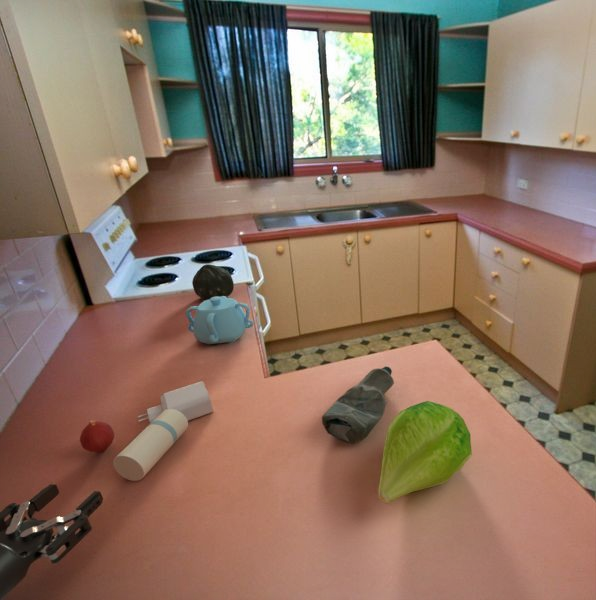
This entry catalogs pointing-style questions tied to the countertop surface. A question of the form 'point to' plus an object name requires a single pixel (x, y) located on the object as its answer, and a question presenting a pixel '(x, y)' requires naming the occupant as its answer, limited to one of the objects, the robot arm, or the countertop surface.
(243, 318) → the decorative pot
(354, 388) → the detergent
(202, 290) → the squash
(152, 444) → the paper towel roll
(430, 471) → the lettuce
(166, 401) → the charger
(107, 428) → the onion
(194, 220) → the countertop surface
